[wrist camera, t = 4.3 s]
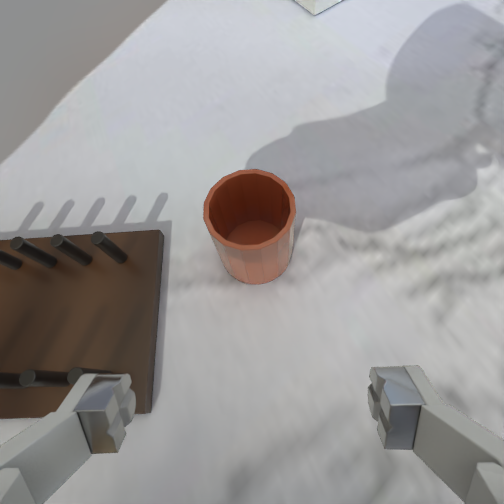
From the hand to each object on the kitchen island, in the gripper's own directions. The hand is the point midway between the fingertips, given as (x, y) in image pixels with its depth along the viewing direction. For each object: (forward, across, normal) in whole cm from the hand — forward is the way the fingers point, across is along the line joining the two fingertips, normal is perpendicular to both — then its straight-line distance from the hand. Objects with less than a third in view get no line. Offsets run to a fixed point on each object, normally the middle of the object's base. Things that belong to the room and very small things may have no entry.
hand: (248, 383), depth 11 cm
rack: (+14, +17, +6) cm, 23 cm away
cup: (+17, 0, +2) cm, 17 cm away
